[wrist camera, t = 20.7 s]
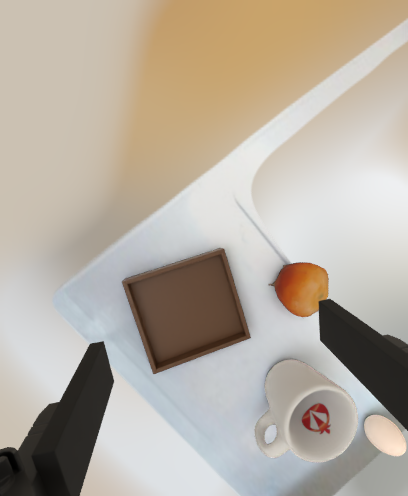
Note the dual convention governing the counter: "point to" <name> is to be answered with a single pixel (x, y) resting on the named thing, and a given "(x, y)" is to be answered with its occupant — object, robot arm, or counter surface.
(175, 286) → the tray
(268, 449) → the cup
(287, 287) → the fruit
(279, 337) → the counter surface
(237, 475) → the counter surface
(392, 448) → the egg
